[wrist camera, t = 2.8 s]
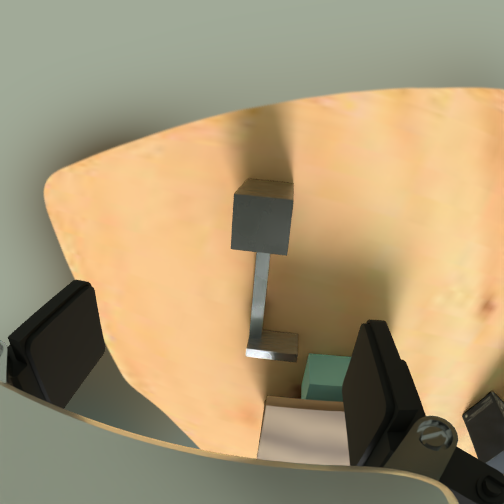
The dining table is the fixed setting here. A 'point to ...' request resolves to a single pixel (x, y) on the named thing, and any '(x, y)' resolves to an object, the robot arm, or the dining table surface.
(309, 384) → the block
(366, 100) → the dining table surface
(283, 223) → the grey long piece
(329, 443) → the cubby
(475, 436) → the small box
